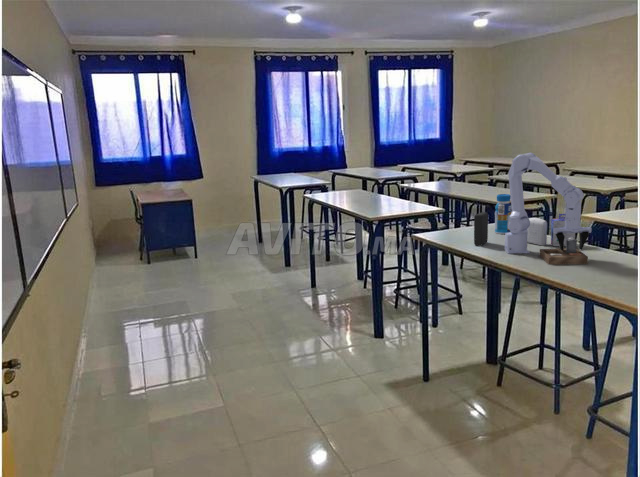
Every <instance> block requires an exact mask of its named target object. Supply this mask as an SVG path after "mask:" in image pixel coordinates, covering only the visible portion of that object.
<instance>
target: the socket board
mask: <svg viewBox="0 0 640 477" xmlns="http://www.w3.org/2000/svg"><path fill="white" fill-rule="evenodd" d="M539 256H540V258H541V259H542V260H543V261H545V262H546V263H547V265H586V264H589V263H588V260H589V256H588V255H586V254H585V253H584V252H582V251H581V250H580V249H579V248H577V249H576V253H569V254H566V247H565V248H564V249H563V250H561V249H560V248H539Z"/></svg>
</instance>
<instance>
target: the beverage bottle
mask: <svg viewBox="0 0 640 477" xmlns="http://www.w3.org/2000/svg"><path fill="white" fill-rule="evenodd" d="M496 201H497V203H496V205H495V207H494V209H495V211H494V232H495V234H499V235H505V233H509V232H511V231H510V230H509V228H508V224H509V221H510V215H511V213H512V207H511V196H510V194H508V193H500V194H497V195H496Z"/></svg>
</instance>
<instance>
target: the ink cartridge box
mask: <svg viewBox="0 0 640 477" xmlns="http://www.w3.org/2000/svg"><path fill="white" fill-rule="evenodd" d="M565 215H566V213H558V218H551V220H550V222H551V223H550V225H551V227H550V231H551V232H550V245H551V246H552V247H560V245H559V241H558V239H557V236H556V234H555V233H553V229H554V228H563V227H565ZM563 234H564V236H565V238H564V246H565V247H566V240H567V239H569V238H575V239H576V233H563Z"/></svg>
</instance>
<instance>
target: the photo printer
mask: <svg viewBox="0 0 640 477" xmlns="http://www.w3.org/2000/svg"><path fill="white" fill-rule="evenodd" d="M528 219H529V220H530V226H529V228H527V231H528V236H527V244H528V243H529V244H532V245H538V246H541V247H542V246H546V244H547V236H548V235H547V234H548V222H547V221H546V220H544V219H542V218H540V217H528Z"/></svg>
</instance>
